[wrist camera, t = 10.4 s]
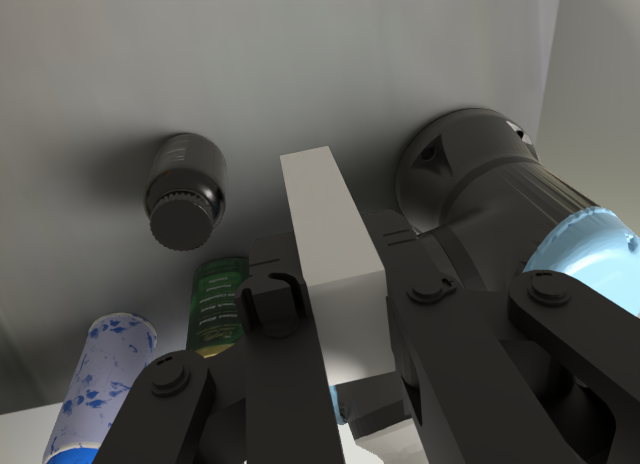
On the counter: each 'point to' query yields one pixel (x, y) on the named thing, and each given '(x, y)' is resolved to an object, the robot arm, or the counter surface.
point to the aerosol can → (100, 386)
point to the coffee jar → (216, 306)
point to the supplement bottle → (185, 192)
